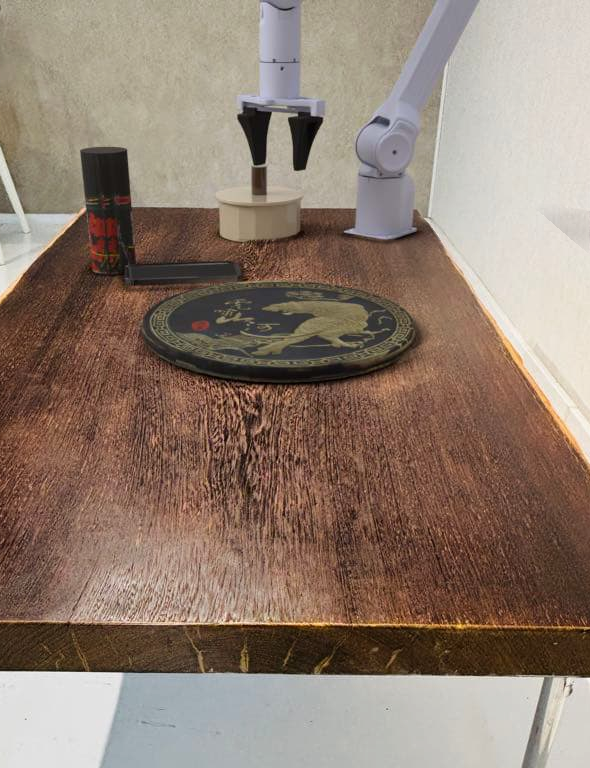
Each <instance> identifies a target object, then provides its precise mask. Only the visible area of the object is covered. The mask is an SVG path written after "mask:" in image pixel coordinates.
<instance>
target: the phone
mask: <svg viewBox="0 0 590 768" xmlns="http://www.w3.org/2000/svg"><path fill="white" fill-rule="evenodd" d="M242 280H243V275H242V270H241V269H240V265H239V264H238V262H237V261H234V260H218V261H217V260H215V261H213V260H212V261H190V262H188V261H187V262H184V261H183V262H160V263H136V264H131V265H127V266H125V274H124V285H127V286H131V287H132V286H135V287H136V286H159V285H160V286H162V285H190V284H193V285H194V284H215V283H216V284H218V283H221V284H222V283H236V282H242Z"/></svg>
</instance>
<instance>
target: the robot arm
mask: <svg viewBox="0 0 590 768" xmlns="http://www.w3.org/2000/svg"><path fill="white" fill-rule="evenodd" d="M303 1H304V0H258V2H259V20H260V21H259V23H258V24H259V25H258V26H259V27H258V28H259V29H258V30H259V31H258V32H259V36H258V37H259V39H258V40H259V41H258V43H259V44H258V45H259V48H258V50H259V51H258V53H259V55H258V56H259V58H258V59H259V94H253V93H251V94H250V93H242V94H237V95H236V110H239V111H242V112H241V113H237V115H236V117H237V119H236V120H237V121H238V123H239V124H240V126H241V128H242V131H243V133H244V135H245V138H246V141H247V144H248V148H249V153H250V156H251V160H252V165H255V166H258V165H266V162H267V155H268V154H267V152H268V151H267V149H268V134H269V127H270V122H271V118H272V114H273V113H281V114H290V115H291V114H292V115H293V114H294V116H288V117H287V122H288V126H289V131H290V135H291V145H292V168H293V171H294V172H300V171H301V172H302V171H306V169H307V167H308V166H307V164H308V161H309V156H310V154H311V150H312V146H313V144H314V141H315V139H316V136H317V134H318V132H319V131H320V128H321V126H322V125H323V123H324V116H325V115H326V114H325V113H326V99H319V98H312V97H307V96H306V97H305V96H301V63H302V62H301V60H302V59H301V57H302V56H301V55H302V53H301V52H302V11H301V10H302V3H303ZM479 3H480V0H436V2H435V4H434V6H433V8H432V10H431V12H430V13H429V16H428V18H427V20H426V22H425V24H424V26H423V28H422V30H421V32H420V33H419V36H418V38H417V40H416V42H415V44H414V46H413V48H412V50H411V52H410V54H409V56H408V57H407V60H406V62H405V63H404V66H403V68H402V69H401V72H400V74H399V75H398V78H397V80H396V81H395V84H394V85H393V87H392V90H391V92H390V94H389V95H388V98H387V99H386V100H385V101H384V102H383V103H381V105H379V106H378V107H377V108H376V110H374V113H373V115H372V116H371V119H369V121H368V122H367V123H365V124H364V125H363V126H362V127H361V128H360V129H359V131H358V132H357V134H356V137H355V139H354V152H355V155H356V157H357V159H358V160H359V162H360V165H359V167H358V170H357V185H356V186H357V187H356V204H355V222H354V227H353V228H350V229H346V230H344V231H343V233H346V234H353V235H358V236H363V237H370V238H375V239H380V240H395V239H399V238H401V237H403V236H406V235H407V236H408V235H410V234H412V233H415V232H417V231H418V228H417V227H413V222H414V221H413V220H414V210H415V198H416V185H415V182H414V179H413V177H412V176H411V174H409V173H408V172H407V169H408V167H409V166H410V164H411V162H412V161H413V158H414V154H415V144H416V141H417V138H418V136H419V134H420V133H421V114H422V112H423V110H424V108H425V106H426V104H427V103H428V100H429V99H430V97H431V94H432V93H433V90H434V89H435V88H436V85H437V84H438V81H439V79H440V77H441V76H442V73H443V71H444V69H445V68H446V66H447V64H448V62H449V60H450V59H451V56H452V54H453V52H454V50H455V48H456V46H457V45H458V43H459V41H460V39H461V37H462V36H463V33H464V31H465V29H466V27H467V26H468V23H469V22H470V20H471V18H472V16H473V14H474V12H475V10H476V8H477V7H478V4H479ZM283 107H284V108H283ZM285 107H286V108H285Z"/></svg>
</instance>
